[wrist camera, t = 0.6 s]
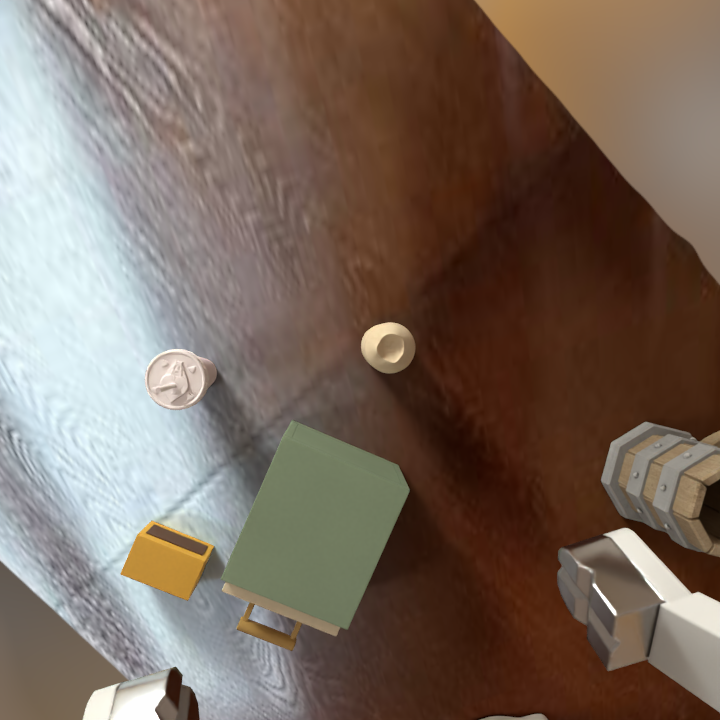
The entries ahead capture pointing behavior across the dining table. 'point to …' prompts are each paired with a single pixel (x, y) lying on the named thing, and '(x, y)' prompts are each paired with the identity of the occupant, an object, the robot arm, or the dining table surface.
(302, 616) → the drawer
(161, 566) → the matchbox
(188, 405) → the smoothie
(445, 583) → the dining table surface
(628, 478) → the tankard
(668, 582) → the robot arm
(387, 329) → the candle
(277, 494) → the cabinet
